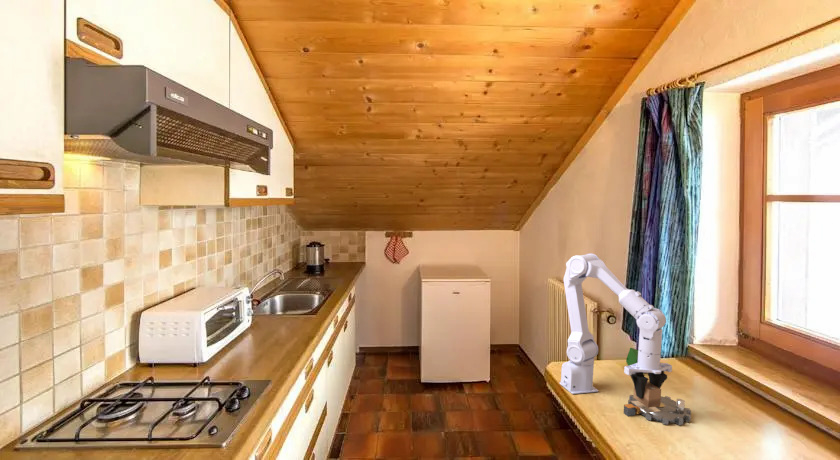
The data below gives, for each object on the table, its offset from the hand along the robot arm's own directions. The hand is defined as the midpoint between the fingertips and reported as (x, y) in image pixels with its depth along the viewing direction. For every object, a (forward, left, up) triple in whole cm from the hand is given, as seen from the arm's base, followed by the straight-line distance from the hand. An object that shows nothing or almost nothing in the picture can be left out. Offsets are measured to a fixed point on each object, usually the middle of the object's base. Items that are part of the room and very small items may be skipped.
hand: (646, 396), depth 124 cm
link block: (0, 0, -2) cm, 2 cm away
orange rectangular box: (-5, 0, -5) cm, 7 cm away
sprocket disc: (+5, 0, -5) cm, 7 cm away
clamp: (+22, +28, -5) cm, 36 cm away
